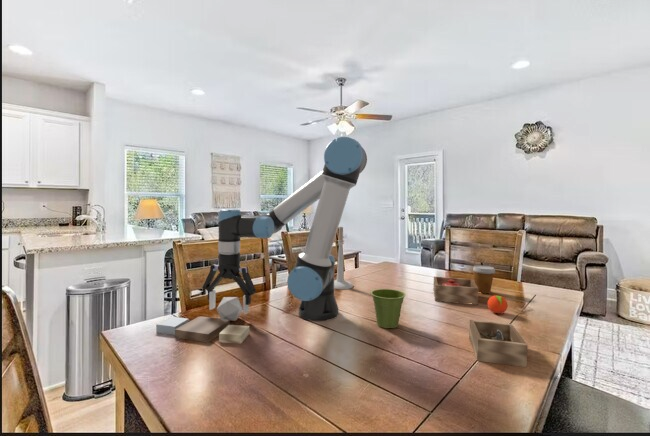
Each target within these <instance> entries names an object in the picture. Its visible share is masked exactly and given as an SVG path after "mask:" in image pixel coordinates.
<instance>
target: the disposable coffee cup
mask: <svg viewBox="0 0 650 436" xmlns="http://www.w3.org/2000/svg"><path fill="white" fill-rule="evenodd" d="M472 271H473V277H474V279H473V281H474V282H475V284H476V285H477V287H478V288H479V291H478V292H481V293H490V294H491V292H492V291H491V290H492V285H493V280H494V274H495V273H496V270H495V267H493V266H489V265H482V264H479V265H474V266H473V268H472Z"/></svg>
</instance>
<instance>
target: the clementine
mask: <svg viewBox="0 0 650 436" xmlns="http://www.w3.org/2000/svg"><path fill="white" fill-rule="evenodd" d="M487 307H488V309H489V310H490V311H491V312H492V313H493V312H494V314H496V313H501V314H503V313H505V312H506V311H507V310H508V307H509V306H508V301H507V300H506V299H505V298H504V297H503V296H501V295H497V294H496V295H492V296H490V297H489V298H488V300H487Z"/></svg>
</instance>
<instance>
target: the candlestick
mask: <svg viewBox="0 0 650 436" xmlns="http://www.w3.org/2000/svg"><path fill="white" fill-rule="evenodd" d="M336 241H337V244H338V255H337V256H338V257H337V271H336V272H337V273H336V279H334V290H340V291H341V290H343V291H344V290H350V289H352V288H353V287H354V284H353V283H352V282H351V281H348V280H345V275H344V248H343V245H344V242H345V240H344V227H343V226H338V240H336Z"/></svg>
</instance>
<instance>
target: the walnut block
mask: <svg viewBox="0 0 650 436" xmlns="http://www.w3.org/2000/svg"><path fill="white" fill-rule="evenodd" d="M228 325H231V321H230V320H226V319H221V318H216V317H210V316H209V317H208V316H202V315H200V316H197V317H195V318H193V319H192V320H189V322H188V323H186V324H184V325H182V326H180V327H179V328H177V329H175V335H174V338H177V339H178V338H179V339H184V340H190V341H191V340H192V341H197V342H203V343H204V342H205V343H209V342H211V341H213V340H214V339H215V338H217V337H219V333H220V332H221V331H222V330H224V329H225V328H226V327H227V326H228Z"/></svg>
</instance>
